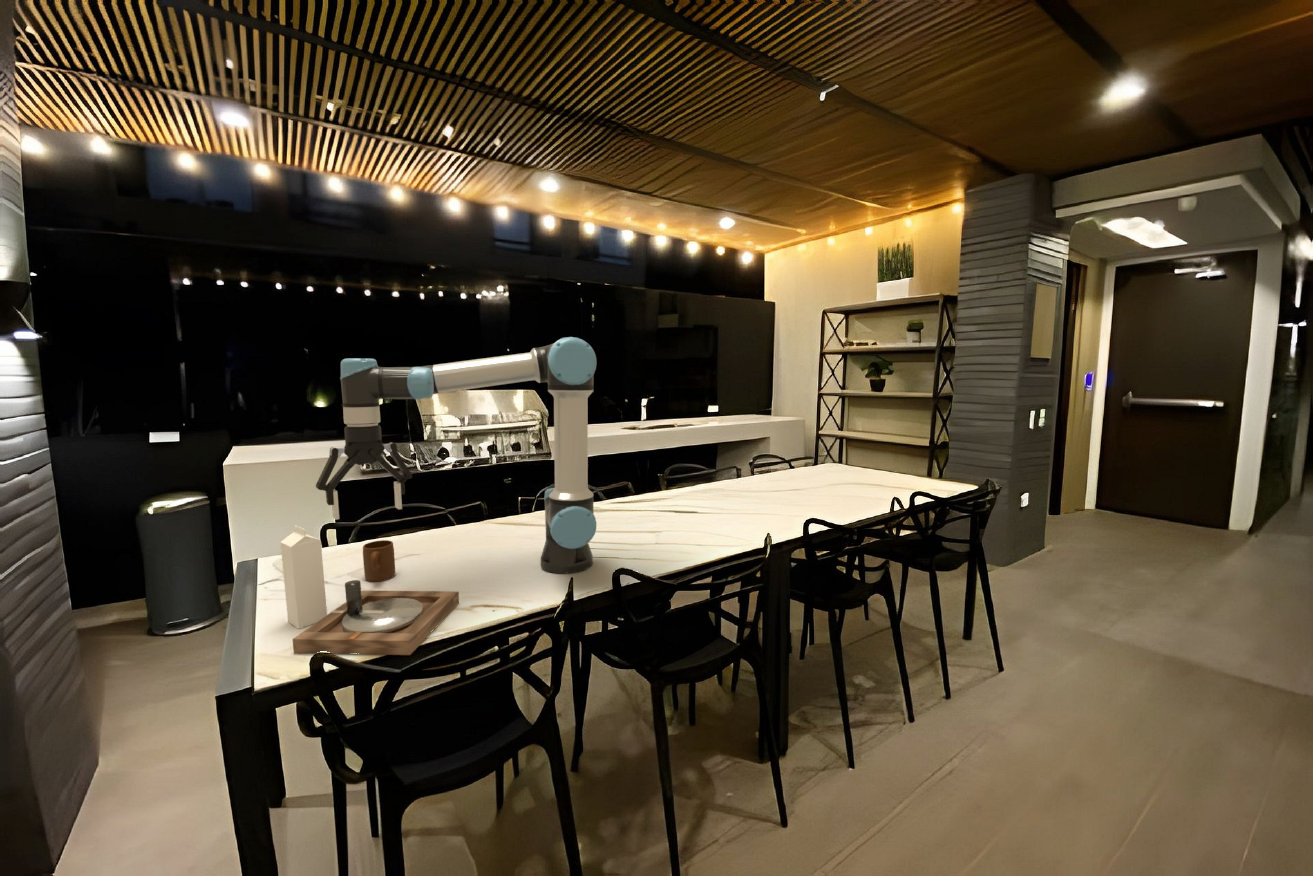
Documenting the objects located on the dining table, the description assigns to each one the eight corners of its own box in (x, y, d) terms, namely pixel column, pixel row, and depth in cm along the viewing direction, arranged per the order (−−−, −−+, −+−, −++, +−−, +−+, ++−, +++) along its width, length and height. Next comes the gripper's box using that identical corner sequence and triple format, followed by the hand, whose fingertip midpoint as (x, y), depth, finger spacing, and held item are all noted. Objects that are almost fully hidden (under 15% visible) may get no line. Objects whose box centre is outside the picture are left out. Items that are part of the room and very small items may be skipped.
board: (459, 603, 130) (458, 590, 130) (410, 655, 106) (409, 640, 106) (363, 602, 131) (362, 589, 131) (293, 653, 107) (292, 638, 107)
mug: (391, 586, 141) (389, 552, 140) (359, 590, 138) (356, 555, 137) (397, 570, 152) (395, 538, 151) (367, 574, 150) (364, 541, 148)
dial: (435, 603, 126) (433, 569, 125) (400, 636, 110) (397, 598, 109) (369, 602, 127) (366, 569, 126) (325, 635, 111) (322, 597, 110)
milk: (316, 612, 126) (309, 521, 123) (328, 619, 122) (320, 526, 120) (287, 622, 121) (278, 527, 118) (297, 629, 117) (289, 532, 115)
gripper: (412, 420, 136) (417, 501, 138) (296, 427, 119) (303, 519, 122) (423, 422, 130) (427, 507, 133) (302, 429, 114) (310, 526, 116)
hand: (368, 513), depth 127 cm, fingers open, 13 cm apart
